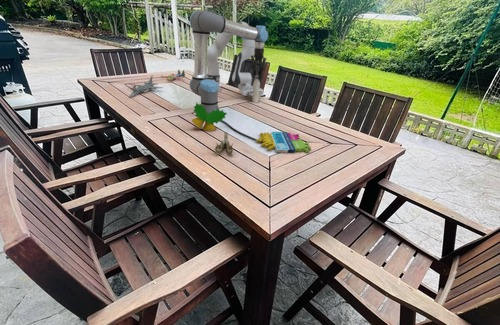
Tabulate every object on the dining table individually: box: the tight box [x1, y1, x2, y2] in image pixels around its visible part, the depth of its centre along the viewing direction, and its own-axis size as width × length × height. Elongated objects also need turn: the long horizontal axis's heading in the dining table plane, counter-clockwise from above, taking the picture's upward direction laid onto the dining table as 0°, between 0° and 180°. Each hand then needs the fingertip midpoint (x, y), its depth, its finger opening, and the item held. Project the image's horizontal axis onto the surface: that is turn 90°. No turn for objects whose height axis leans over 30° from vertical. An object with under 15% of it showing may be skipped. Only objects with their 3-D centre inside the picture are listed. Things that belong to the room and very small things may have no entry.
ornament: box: [191, 102, 228, 132], centre depth 162 cm, size 21×8×15 cm, turn 105°
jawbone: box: [214, 131, 234, 156], centre depth 136 cm, size 9×15×10 cm
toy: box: [160, 69, 186, 82], centre depth 279 cm, size 28×7×30 cm
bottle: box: [251, 79, 261, 103], centre depth 219 cm, size 6×6×21 cm
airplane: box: [127, 74, 164, 98], centre depth 226 cm, size 38×31×10 cm
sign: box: [255, 131, 312, 154], centre depth 152 cm, size 26×2×30 cm
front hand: (257, 78), depth 214 cm, fingers closed on cap, 4 cm apart
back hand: (256, 94), depth 220 cm, fingers closed on bottle, 5 cm apart
